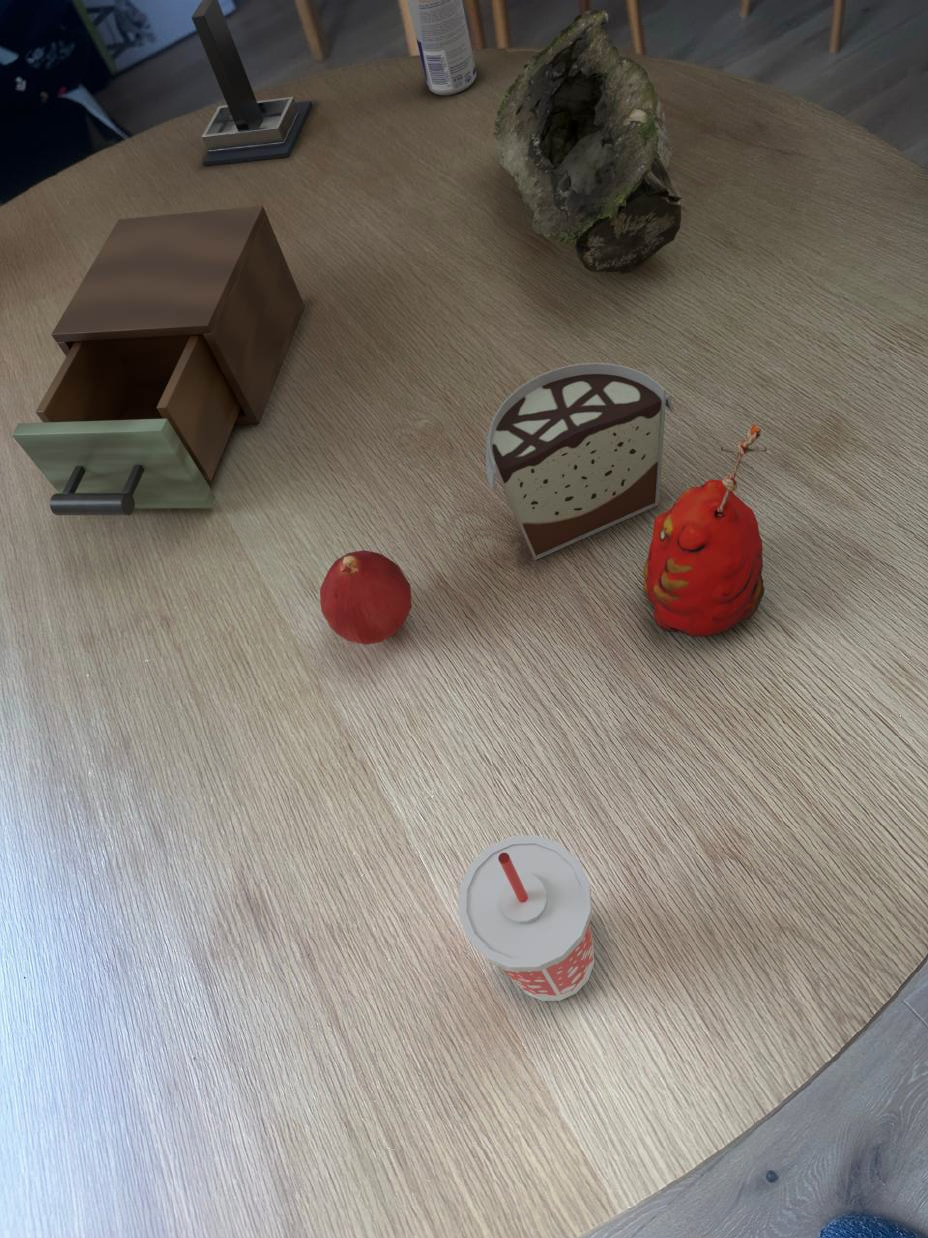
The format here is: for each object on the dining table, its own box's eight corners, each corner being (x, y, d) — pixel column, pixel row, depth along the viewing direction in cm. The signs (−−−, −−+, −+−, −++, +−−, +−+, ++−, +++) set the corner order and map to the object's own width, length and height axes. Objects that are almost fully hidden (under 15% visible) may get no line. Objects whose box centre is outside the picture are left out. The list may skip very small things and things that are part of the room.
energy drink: (455, 64, 108) (429, -58, 98) (487, 76, 105) (463, -48, 95) (418, 88, 106) (388, -33, 97) (449, 101, 103) (421, -23, 94)
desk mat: (204, 166, 107) (202, 161, 106) (231, 114, 112) (229, 110, 112) (288, 156, 104) (286, 152, 104) (312, 104, 109) (311, 100, 109)
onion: (327, 621, 67) (286, 549, 61) (401, 581, 68) (368, 505, 62) (361, 681, 64) (320, 611, 58) (438, 638, 65) (407, 564, 58)
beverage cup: (594, 887, 53) (560, 774, 42) (622, 1003, 50) (594, 913, 38) (484, 912, 54) (422, 807, 42) (504, 1029, 50) (442, 948, 39)
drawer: (193, 553, 73) (139, 477, 66) (49, 552, 76) (-15, 479, 69) (261, 383, 82) (220, 302, 75) (131, 389, 85) (81, 311, 79)
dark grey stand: (209, 154, 107) (153, 27, 96) (225, 123, 110) (173, -3, 100) (285, 145, 104) (236, 14, 94) (299, 114, 108) (254, -16, 97)
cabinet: (259, 423, 81) (207, 324, 73) (114, 427, 84) (50, 334, 76) (305, 306, 88) (263, 205, 80) (171, 314, 92) (118, 218, 84)
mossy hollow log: (643, 355, 82) (777, 213, 72) (518, 294, 76) (645, 130, 66) (593, 164, 98) (697, 25, 88) (485, 101, 92) (584, -56, 82)
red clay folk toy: (667, 543, 65) (656, 370, 53) (776, 562, 62) (790, 385, 50) (634, 637, 62) (613, 474, 50) (748, 661, 59) (755, 496, 47)
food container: (637, 440, 71) (626, 329, 63) (678, 496, 67) (673, 385, 59) (481, 509, 70) (450, 406, 62) (514, 569, 67) (486, 468, 59)
